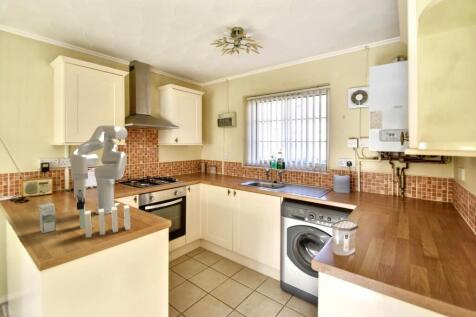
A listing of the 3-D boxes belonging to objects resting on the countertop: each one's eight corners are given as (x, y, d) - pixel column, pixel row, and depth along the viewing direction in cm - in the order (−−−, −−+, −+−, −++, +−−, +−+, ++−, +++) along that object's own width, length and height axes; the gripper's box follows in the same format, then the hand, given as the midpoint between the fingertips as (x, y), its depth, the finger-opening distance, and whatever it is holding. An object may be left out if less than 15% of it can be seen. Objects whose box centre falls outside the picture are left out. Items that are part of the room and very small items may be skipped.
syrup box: (53, 227, 128) (51, 202, 126) (56, 230, 124) (54, 204, 123) (40, 231, 123) (38, 204, 122) (42, 234, 119) (40, 206, 118)
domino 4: (129, 225, 131) (128, 205, 130) (130, 229, 126) (129, 207, 125) (124, 226, 130) (123, 205, 129) (125, 230, 125) (124, 208, 124)
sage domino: (85, 224, 133) (84, 204, 132) (85, 228, 127) (84, 206, 126) (80, 225, 131) (79, 204, 130) (80, 228, 126) (78, 207, 125)
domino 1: (91, 232, 121) (90, 210, 120) (91, 236, 116) (90, 213, 115) (86, 233, 120) (84, 211, 119) (85, 237, 115) (84, 214, 114)
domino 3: (117, 227, 128) (116, 206, 127) (118, 231, 123) (117, 209, 122) (112, 228, 126) (111, 207, 125) (113, 232, 121) (111, 210, 120)
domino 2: (104, 230, 125) (103, 208, 124) (105, 233, 120) (104, 211, 118) (99, 231, 123) (98, 209, 122) (99, 235, 118) (98, 212, 117)
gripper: (72, 175, 132) (74, 204, 133) (69, 179, 117) (71, 212, 118) (88, 174, 136) (89, 203, 137) (87, 178, 121) (88, 210, 122)
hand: (81, 207), depth 128 cm, fingers open, 9 cm apart
